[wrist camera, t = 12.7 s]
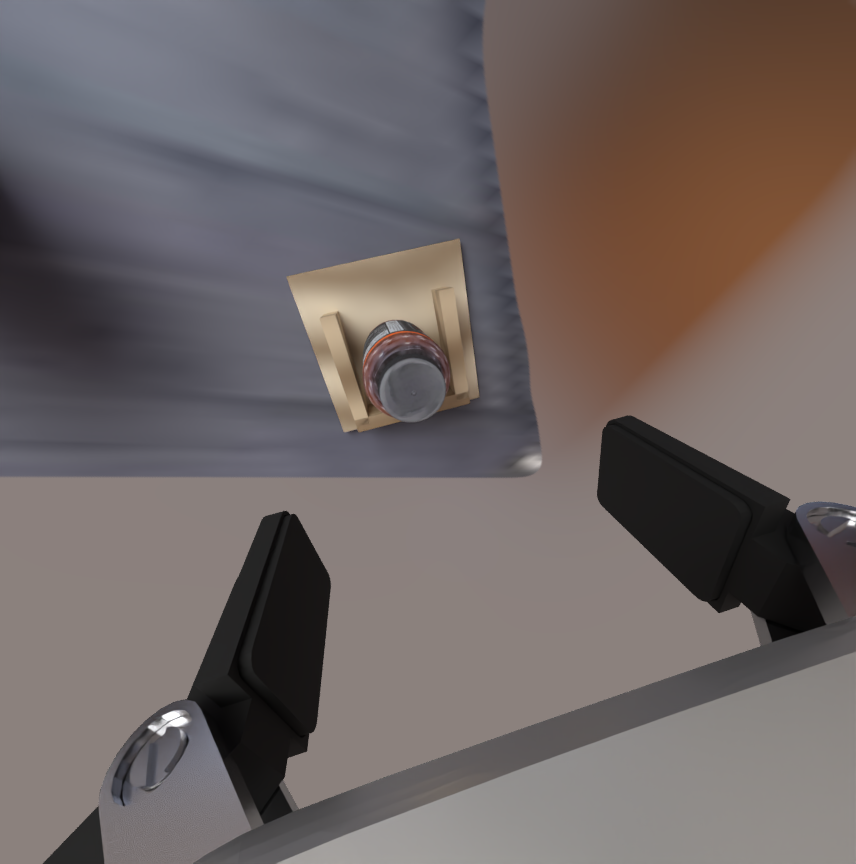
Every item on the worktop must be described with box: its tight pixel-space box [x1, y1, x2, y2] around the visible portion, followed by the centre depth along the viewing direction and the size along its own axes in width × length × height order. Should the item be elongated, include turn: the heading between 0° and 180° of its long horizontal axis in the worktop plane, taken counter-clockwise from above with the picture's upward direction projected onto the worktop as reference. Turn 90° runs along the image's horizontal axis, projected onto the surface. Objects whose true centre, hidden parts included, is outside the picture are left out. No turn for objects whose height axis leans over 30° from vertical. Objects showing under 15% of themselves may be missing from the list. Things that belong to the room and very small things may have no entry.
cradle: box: [287, 239, 479, 432], centre depth 27 cm, size 14×14×4 cm
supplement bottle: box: [363, 320, 451, 423], centre depth 23 cm, size 6×6×11 cm
